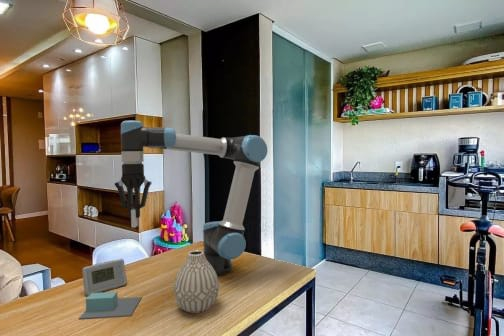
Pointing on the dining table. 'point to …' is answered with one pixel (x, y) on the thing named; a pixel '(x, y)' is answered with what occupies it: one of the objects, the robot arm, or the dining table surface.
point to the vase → (196, 284)
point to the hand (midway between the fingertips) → (134, 226)
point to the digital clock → (104, 276)
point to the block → (101, 301)
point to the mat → (115, 309)
